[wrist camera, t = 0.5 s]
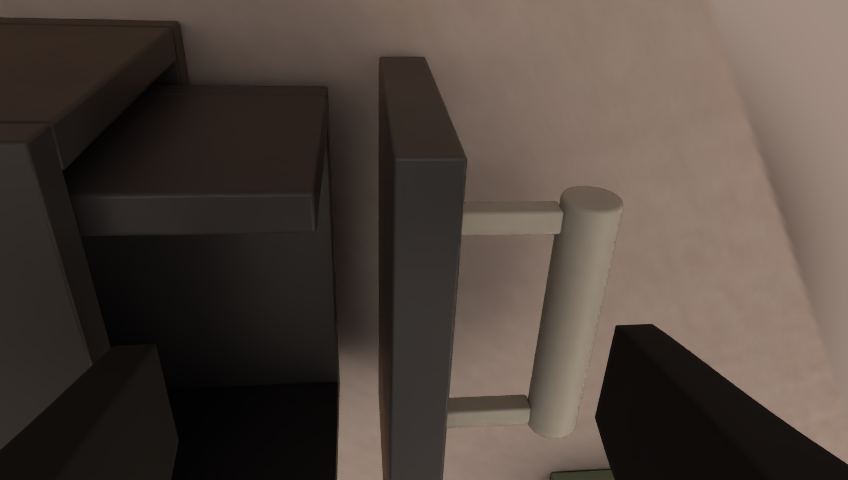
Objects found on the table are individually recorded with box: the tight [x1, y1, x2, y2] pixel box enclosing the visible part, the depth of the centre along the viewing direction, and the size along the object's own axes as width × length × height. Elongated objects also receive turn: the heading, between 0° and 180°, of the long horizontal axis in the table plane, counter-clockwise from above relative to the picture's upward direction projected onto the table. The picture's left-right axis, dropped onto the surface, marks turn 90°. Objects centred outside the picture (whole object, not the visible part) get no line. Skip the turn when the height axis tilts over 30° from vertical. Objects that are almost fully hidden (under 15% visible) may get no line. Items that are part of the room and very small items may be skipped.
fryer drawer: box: [62, 56, 624, 480], centre depth 15 cm, size 17×11×7 cm
